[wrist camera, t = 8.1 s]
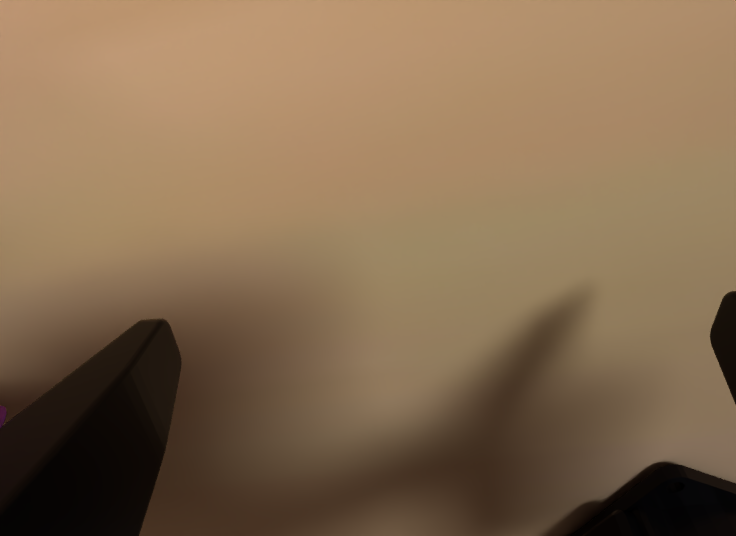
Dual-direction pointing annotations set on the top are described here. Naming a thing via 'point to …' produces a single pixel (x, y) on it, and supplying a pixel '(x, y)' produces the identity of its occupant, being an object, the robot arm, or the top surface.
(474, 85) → the top surface
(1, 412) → the toy camera
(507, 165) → the top surface
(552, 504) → the top surface
